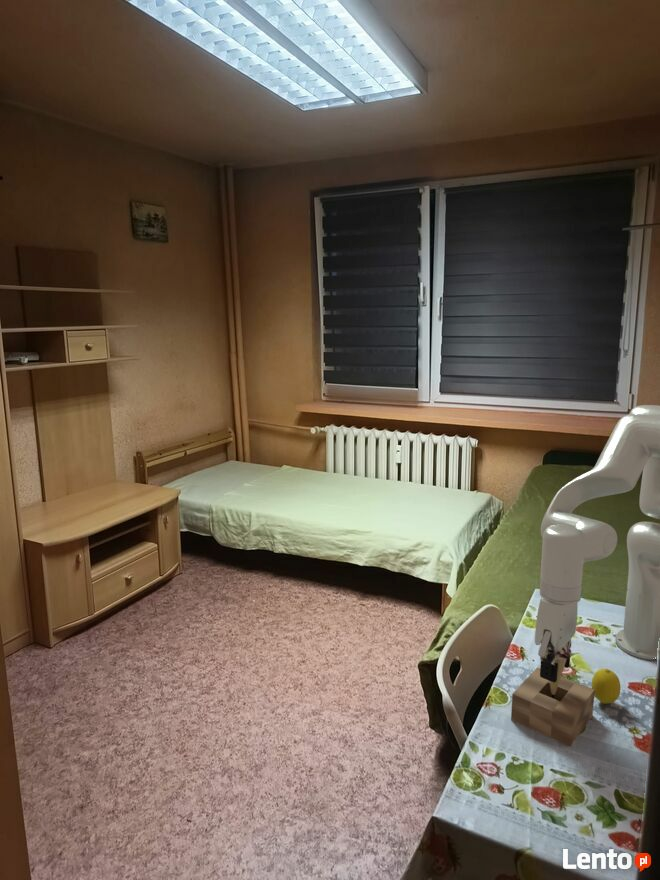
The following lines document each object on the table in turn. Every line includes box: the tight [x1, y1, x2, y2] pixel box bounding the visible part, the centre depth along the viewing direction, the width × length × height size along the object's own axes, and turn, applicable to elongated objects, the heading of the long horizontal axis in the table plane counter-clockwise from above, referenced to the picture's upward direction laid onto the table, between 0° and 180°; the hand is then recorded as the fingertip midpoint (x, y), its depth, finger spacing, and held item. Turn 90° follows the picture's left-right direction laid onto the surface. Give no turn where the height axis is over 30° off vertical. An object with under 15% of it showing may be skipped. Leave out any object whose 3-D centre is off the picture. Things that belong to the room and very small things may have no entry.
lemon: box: [591, 668, 621, 705], centre depth 126 cm, size 6×6×8 cm
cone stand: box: [510, 666, 595, 748], centre depth 122 cm, size 12×12×6 cm
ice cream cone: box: [548, 642, 572, 699], centre depth 120 cm, size 6×6×15 cm
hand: (554, 671), depth 120 cm, fingers closed on ice cream cone, 5 cm apart
